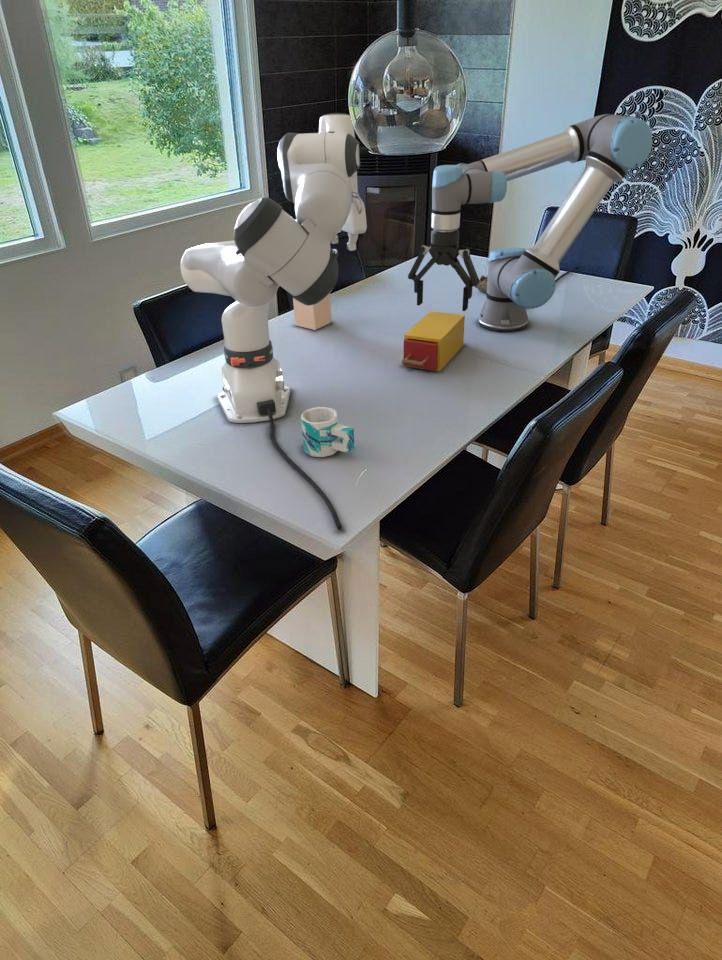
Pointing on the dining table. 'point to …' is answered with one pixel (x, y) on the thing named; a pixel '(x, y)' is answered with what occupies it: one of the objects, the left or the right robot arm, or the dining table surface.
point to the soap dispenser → (312, 314)
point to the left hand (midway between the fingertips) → (342, 246)
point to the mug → (325, 433)
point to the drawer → (420, 354)
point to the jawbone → (482, 284)
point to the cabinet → (440, 334)
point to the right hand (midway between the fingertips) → (442, 307)
